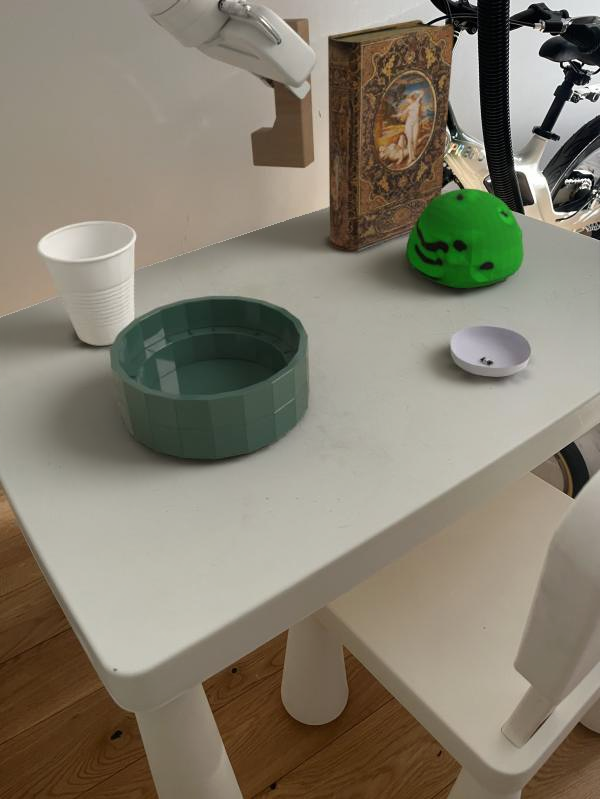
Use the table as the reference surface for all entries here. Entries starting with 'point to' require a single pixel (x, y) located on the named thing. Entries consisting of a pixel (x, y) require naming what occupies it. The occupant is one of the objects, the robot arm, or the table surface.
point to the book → (386, 128)
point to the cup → (93, 276)
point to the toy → (466, 240)
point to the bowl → (211, 376)
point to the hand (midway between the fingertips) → (289, 87)
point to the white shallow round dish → (490, 351)
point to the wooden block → (287, 123)
